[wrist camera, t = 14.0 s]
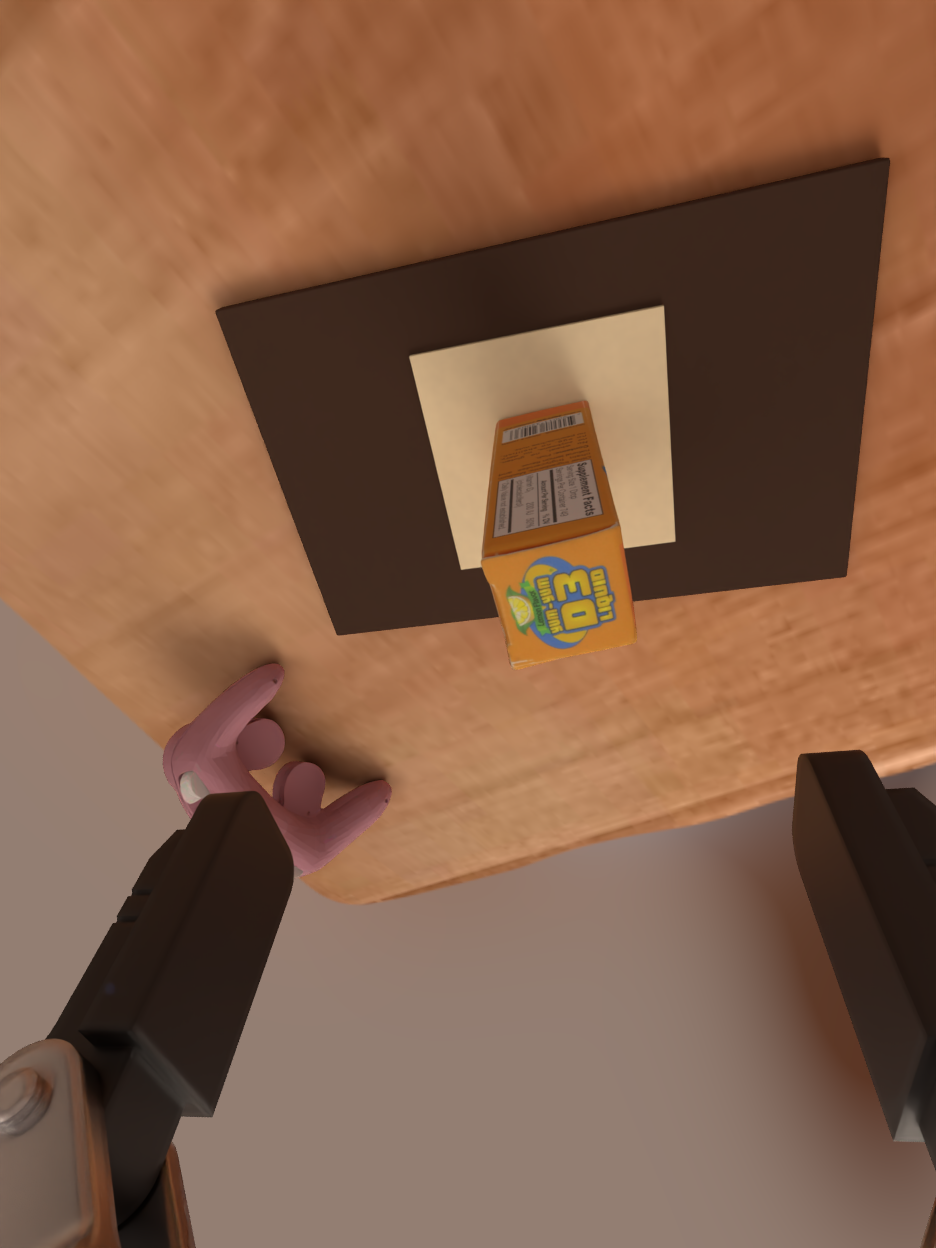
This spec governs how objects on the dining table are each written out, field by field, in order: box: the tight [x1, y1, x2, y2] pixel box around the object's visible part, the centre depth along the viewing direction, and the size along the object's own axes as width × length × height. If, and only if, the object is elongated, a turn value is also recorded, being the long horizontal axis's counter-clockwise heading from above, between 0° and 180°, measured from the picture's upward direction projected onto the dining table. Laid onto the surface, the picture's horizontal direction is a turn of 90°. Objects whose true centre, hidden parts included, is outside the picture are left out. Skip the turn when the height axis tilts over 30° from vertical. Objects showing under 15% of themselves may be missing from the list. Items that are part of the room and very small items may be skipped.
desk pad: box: [215, 158, 890, 635], centre depth 24 cm, size 20×13×1 cm, turn 102°
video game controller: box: [163, 663, 392, 879], centre depth 32 cm, size 10×5×7 cm, turn 32°
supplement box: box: [480, 400, 637, 670], centre depth 19 cm, size 3×3×10 cm
